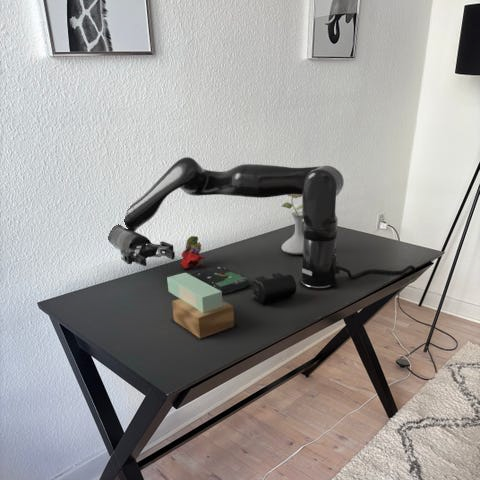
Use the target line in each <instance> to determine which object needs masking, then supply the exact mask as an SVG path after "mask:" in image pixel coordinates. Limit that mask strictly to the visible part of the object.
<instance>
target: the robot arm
mask: <svg viewBox="0 0 480 480" xmlns="http://www.w3.org/2000/svg"><path fill="white" fill-rule="evenodd" d="M344 183H345V179H344V176H343V174H342V173H341V171H340V170H339V169H337V168H336V167H334V166H331V165H320V166H319V165H318V166H307V167H292V166H291V167H289V166H284V165H283V166H281V165H271V164H261V163H260V164H259V163H244V164H239V165H236V166H234V167H232V168H230V169H227V170H224V171H218V170H217V171H216V170H210V169H209V170H208V169H205V168H204V167H202V166H201V165H200V163H199V162H198V161H196V160H195V159H194V158H192V157H190V156H189V157H188V156H185V157H182V158H180V159H178V160H177V161H176V162H174V163H173V164H172V166H170V167H169V168H168V170H167V171H166V172H164V173H163V175H161V177H160V178H159V179H158V180H156V182H155V183H154V184H153V185H152V186H151V187H150V188H149V189H148V190H147V191H146V192H145V193H143V195H141V196H140V197H139V198H138V199H137V200H135V201H134V202H133V203H131V204H132V205H131V204H130V205H131V206H130V205H129V206H130V208H129V209H128V210H127V212H126V214H125V219H124V222H125V225H126V227H127V228H128V229H126V228H124V227H125V225H124V226H123V225H122V224H120V223H119V224H120V225H119V224H118V225H116V226H114V227H113V228H112V230H111V231H110V233H109V236H108V240H109V242H110V243H111V244H112V245H113V246H114V247H115V248H116V249H115V250H118V251H119V252H120V259H121V260H122V261H123V262H124V263H126V264H127V265H132V264H133V263H134V264H138V265H140V266H142V267H146V266H147V259H148V258H161V257H166V258H168V259H170V260H175V257H176V253H175V251H174V245H173V244H171V243H168V242H166V241H163V240H162V241H160V244H158V243H152V242H151V240H150V239H149V238H148V237H146V236H145V235H143V234H140V233H139V232H136V231H137V230H138V229H140V228H141V227H142V226H143V225H145V224H146V223H147V222H149V221H150V220H151V219H152V218H154V216H155V215H156V214H157V212H158V211H159V209H160V207H161V206H162V204H163V202H164V201H165V199H166V198H167V197H168V196H169V195H170V194H172V193H173V192H174V191H176V190H178V189H180V190H181V191H183V192H184V193H185V194H187V195H190V196H194V197H195V196H196V197H197V196H198V197H199V196H200V197H201V196H212V195H213V196H218V195H219V196H231V197H243V198H244V197H245V198H256V199H257V198H258V199H262V198H263V199H264V198H265V199H266V198H274V197H281V196H288V195H289V194H301V195H302V196H301V197H302V198H301V203H302V204H301V205H302V208H301V212H302V215H303V236H304V241H303V254H302V268H301V285H302V286H303V287H305V288H309V289H313V290H326V289H329V288H335V281H336V275H339V274H340V271H342V272H345V273H346V274H347V276H348V278H350V279H357V278H359V277H361V276H363V275H367V274H369V273H370V274H371V273H377V274H378V273H380V274H388V275H401V274H404V273H407V271H409V270H412V271H416V270H417V268H416V267H415V266H414V265H407V266H406V267H405V268H404V269H401V270H386V269H376V268H372V269H371V268H370V269H365V270H363V271H361V272H359V273H357V274H355V275H353V274H352V272H351V270H350V269H349V268H346V267H343V266H340V264H339V261H337V253H336V249H337V239H338V238H337V237H338V222H339V221H338V220H339V218H338V216H337V214H336V208H337V207H336V205H337V204H336V203H337V196H339V194H340V193H341V192H342V190H343V188H344Z"/></svg>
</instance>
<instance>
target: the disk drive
mask: <svg viewBox="0 0 480 480" xmlns="http://www.w3.org/2000/svg"><path fill="white" fill-rule="evenodd" d="M192 276H193V277H195V278H197V279H199V280H201V281H203V282H204V283H206V284H208V285H210V286H212V287H214V288H216V289H218V290H220V291H222V295H223V294H227V293H231V292H234V291H237V290H240V289H244V288H246V287H249V280H248V278H247V277H245V276H244V275H241V274H240V273H237V272H235V271H232V270H231V269H228V268H226V267H224V266H222V265H217V266H213V267H210V268H206V269H204V270H203V271H199V270H198V271H195V272H193V273H192Z"/></svg>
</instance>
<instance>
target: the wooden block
mask: <svg viewBox="0 0 480 480" xmlns="http://www.w3.org/2000/svg"><path fill="white" fill-rule="evenodd" d="M171 305H172V316H173V321H174V322H175V323H176V324H178V325H179V326H181V327H182V328H184V329H186V330H187V331H188V332H189V333H191V334H192V335H194V336H195V337H197V338H198V339H200V340H201V339H204V338H206V337H208V336H211V335H214V334H217V333H220V332H222V331H225V330H228V329H231V328H234V327H235V311H234V310H235V307H234V305H232V304H230V303H229V302H226V301H225V300H223V299H222V307H220V308H217V309H214V310H211V311H208V312H205V313H203V312H201V311H199V310H198V309H196V308H194V307H193V306H191V305H190V304H188V303H186V302H185V301H183V300H181V299H180V298H176V299H174V300H172V301H171Z"/></svg>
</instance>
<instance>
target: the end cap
mask: <svg viewBox="0 0 480 480" xmlns="http://www.w3.org/2000/svg"><path fill="white" fill-rule="evenodd" d="M271 276H272V277H273V278H266V277H265V276H257V277H255V278H253V279H252V285H253V286H255V287H256V288H257V289H256V288H253V289H252V292H253V295H254V297H253V299H254V300H255V301H256V302H257V303H259V304H260V305H264V304H269V303H273V302H276V301H281V300H285V299H289V298H291V297H293V296H294V295H295V294H296V292H297V283H296V280H295V278H294V276H293V275H291V274H290V273H289V274H286V275H285V274H284V273H281V272H277V273H272V274H271Z"/></svg>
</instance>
